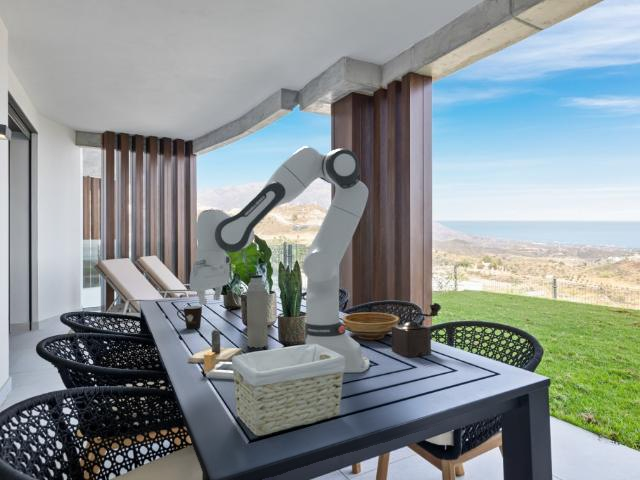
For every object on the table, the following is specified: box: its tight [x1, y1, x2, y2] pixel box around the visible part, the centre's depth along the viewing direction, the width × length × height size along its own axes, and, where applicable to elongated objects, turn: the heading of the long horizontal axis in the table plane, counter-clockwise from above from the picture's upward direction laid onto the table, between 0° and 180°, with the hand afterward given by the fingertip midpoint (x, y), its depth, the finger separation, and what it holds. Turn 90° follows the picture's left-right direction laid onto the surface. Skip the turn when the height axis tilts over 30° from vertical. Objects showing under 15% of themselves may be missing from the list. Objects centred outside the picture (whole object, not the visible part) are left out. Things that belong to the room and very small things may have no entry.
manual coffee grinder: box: [391, 302, 442, 359], centre depth 152 cm, size 16×11×18 cm
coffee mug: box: [176, 305, 203, 330], centre depth 200 cm, size 12×9×10 cm
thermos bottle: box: [246, 274, 269, 349], centre depth 165 cm, size 8×8×28 cm
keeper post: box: [188, 328, 243, 364], centre depth 149 cm, size 14×14×10 cm
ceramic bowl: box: [341, 311, 400, 340], centre depth 176 cm, size 30×24×8 cm
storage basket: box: [231, 344, 345, 437], centre depth 99 cm, size 24×16×15 cm
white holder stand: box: [203, 352, 234, 381], centre depth 131 cm, size 12×10×6 cm
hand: (210, 302), depth 134 cm, fingers open, 8 cm apart
